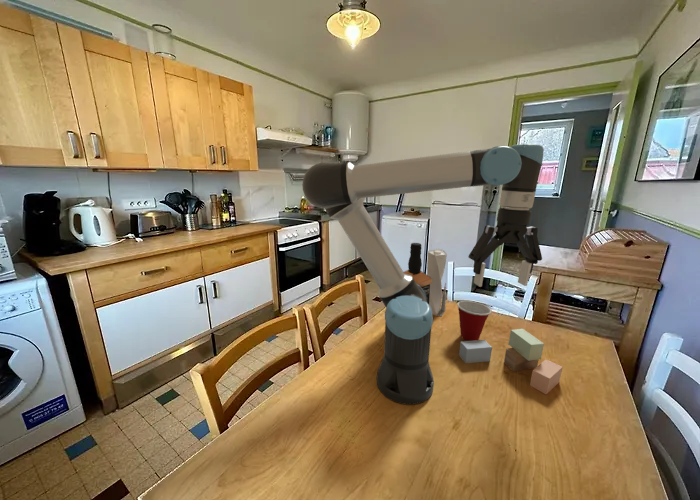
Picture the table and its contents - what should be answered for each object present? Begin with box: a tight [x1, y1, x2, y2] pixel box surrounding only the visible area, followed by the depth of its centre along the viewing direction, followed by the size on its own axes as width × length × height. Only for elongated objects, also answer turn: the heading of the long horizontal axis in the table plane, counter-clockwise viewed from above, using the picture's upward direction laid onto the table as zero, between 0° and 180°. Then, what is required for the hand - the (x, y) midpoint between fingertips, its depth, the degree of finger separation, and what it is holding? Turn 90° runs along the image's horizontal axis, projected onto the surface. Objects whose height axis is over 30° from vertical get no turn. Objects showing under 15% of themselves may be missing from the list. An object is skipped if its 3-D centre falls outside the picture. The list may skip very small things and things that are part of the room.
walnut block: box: [503, 347, 540, 372], centre depth 85 cm, size 8×4×5 cm, turn 102°
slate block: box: [458, 339, 493, 364], centre depth 88 cm, size 8×4×5 cm, turn 97°
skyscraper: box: [426, 248, 448, 318], centre depth 115 cm, size 8×8×28 cm
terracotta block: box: [529, 359, 564, 395], centre depth 77 cm, size 8×4×5 cm, turn 125°
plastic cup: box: [456, 300, 492, 341], centre depth 98 cm, size 11×11×12 cm
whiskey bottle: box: [403, 242, 432, 304], centre depth 103 cm, size 10×10×32 cm
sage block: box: [508, 328, 545, 361], centre depth 83 cm, size 8×4×5 cm, turn 9°
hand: (500, 284), depth 79 cm, fingers open, 13 cm apart
